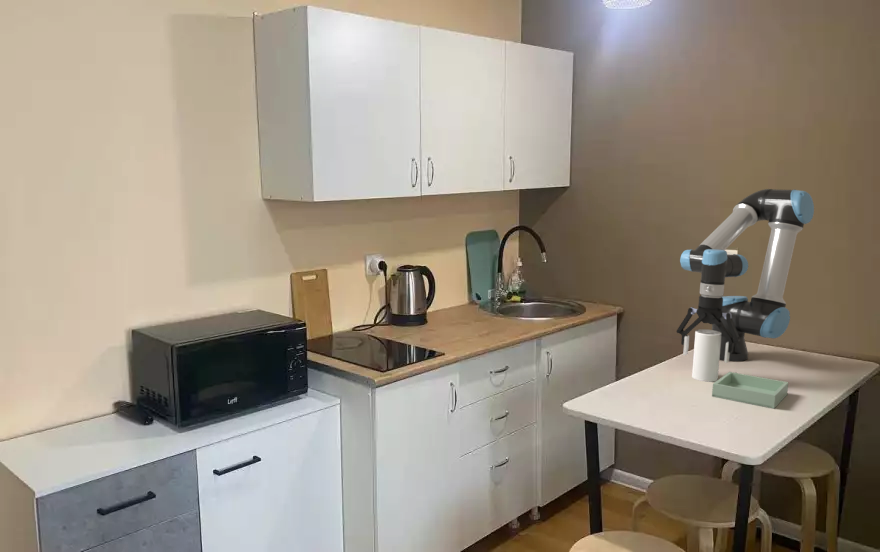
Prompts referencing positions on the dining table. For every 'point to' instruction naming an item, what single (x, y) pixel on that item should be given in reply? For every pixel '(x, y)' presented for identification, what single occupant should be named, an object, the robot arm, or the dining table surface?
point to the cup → (706, 355)
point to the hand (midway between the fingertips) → (705, 358)
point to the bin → (750, 389)
